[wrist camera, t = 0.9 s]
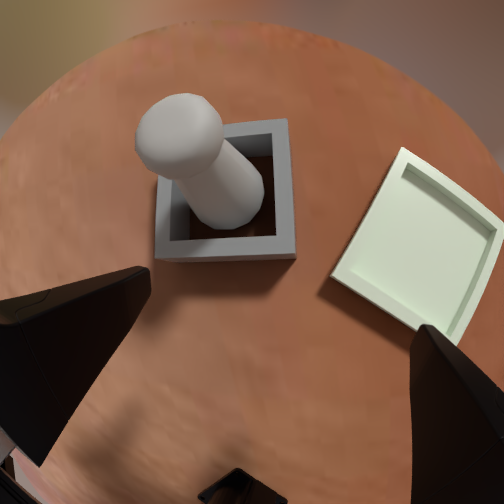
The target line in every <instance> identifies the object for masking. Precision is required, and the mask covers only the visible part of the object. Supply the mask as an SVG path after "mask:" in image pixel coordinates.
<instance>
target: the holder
mask: <svg viewBox="0 0 504 504" xmlns="http://www.w3.org/2000/svg"><path fill="white" fill-rule="evenodd" d="M222 126H223V131H224V139H225V140H227V141H228V142H229V143H230V144H231V145H232V146H233V147H234V148H235V149H236V150H237V151H239V152H240V153H241V154H242V155H243V156H244V157H245V158H249V157H261V156H273V165H274V187H275V212H276V236H258V237H238V238H218V239H199V240H190V206H189V204H188V202H187V201H186V199H185V197H184V196H183V194H182V192H181V191H180V189H179V187H178V186H177V184H176V182H175V181H174V179H173V180H168V179H166V178H164V177H162V176H160V175H158V188H157V204H156V225H155V259H160V260H165V261H170V262H175V263H186V262H217V261H247V260H275V259H297V251H296V227H295V206H294V189H293V173H292V158H291V145H290V136H289V128H288V121H287V119H273V120H261V121H251V122H242V123H233V124H225V125H222Z"/></svg>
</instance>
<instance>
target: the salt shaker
mask: <svg viewBox="0 0 504 504" xmlns="http://www.w3.org/2000/svg"><path fill="white" fill-rule="evenodd" d="M135 151H136V152H137V154H138V155H139V157H140V159H141V160H142V162H143V163H144V164H145V166H146V167H147V169H149V170H151V171H152V172H154V173H156V174H158V175H160V176H162V177H164V178H166V179H168V180H173V179H174V181H175V182H176V184H177V186H178V187H179V189H180V191H181V192H182V194H183V196H184V197H185V199H186V201H187V202H188V204H189V206H190V207H191V209H192V210H193V212H194V213H195V214H196V216H197V217H198V219H199V220H200V221H201V222H203V223H204V224H206V225H208V226H210V227H212V228H213V229H235V228H237V227H240V226H242V225H244V224H247V223H249V222H250V221H251V219H252V218H253V217H254V216H255V215H256V213H257V212H258V211H259V210H260V208H261V204H262V201H263V197H264V194H265V191H264V186H263V182H262V177H261V175H260V173H259V172H258V171H257V170H256V168H255V167H254V166H253V165H252V164H251V163H250V162H249V161H248V160H247V159H246V158H245V157H244V156H243V155H242V154H241V153H240V152H239V151H237V150H236V149H235V148H234V147H233V146H232V145H231V144H230V143H229V142H228V141H227V140H225V139H224V131H223V126H222V121H221V118H220V116H219V114H218V113H217V112H216V110H215V109H214V108H213V107H212V106H211V105H210V104H209V103H208V102H207V101H206V100H205V99H204V98H203V97H201V96H198V95H194V94H190V93H183V94H176V95H170V96H168V97H166V98H164V99H163V100H161V101H159V102H157V103H156V104H154V105H153V106H152V107H151V108H150V109H149V110H148V111H147V112H146V113H145V115H144V116H143V117H142V118H141V121H140V123H139V125H138V128H137V130H136V133H135Z"/></svg>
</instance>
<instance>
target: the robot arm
mask: <svg viewBox="0 0 504 504" xmlns="http://www.w3.org/2000/svg"><path fill="white" fill-rule="evenodd" d="M150 294H151V279H150V271H149V269H148V268H146V267H142V266H134V267H130V268H127V269H123V270H119V271H115V272H111V273H107V274H104V275H100V276H96V277H92V278H89V279H85V280H81V281H77V282H74V283H70V284H66V285H62V286H59V287H55V288H52V289H47V290H44V291H40V292H36V293H32V294H28V295H24V296H19V297H15V298H10V299H5V300H0V504H42V503H41V502H39V501H38V500H37V499H36V498H34V497H33V496H32V495H31V494H30V493H29V492H27V491H26V490H25V489H24V488H23V487H22V486H20V485H19V484H18V483H17V482H16V480H15V473H14V465H13V458H12V457H11V456H10V453H11V452H12V451H13V450H14V449H15V448H17V449H18V450H19V451H20V452H21V453H22V454H23V455H24V456H26V457H27V458H28V459H29V460H30V461H31V462H33V463H34V464H35V465H36V466H38V467H40V466H41V465H42V464H43V462H44V460H45V459H46V457H47V455H48V454H49V452H50V450H51V449H52V447H53V445H54V444H55V442H56V440H57V439H58V437H59V436H60V434H61V432H62V431H63V429H64V428H65V426H66V424H67V423H68V420H69V419H70V418H71V416H72V415H73V413H74V412H75V410H76V408H77V407H78V405H79V404H80V402H81V401H82V399H83V398H84V396H85V395H86V393H87V392H88V390H89V389H90V387H91V386H92V384H93V383H94V381H95V380H96V378H97V377H98V375H99V374H100V372H101V371H102V369H103V368H104V367H105V365H106V364H107V362H108V361H109V359H110V358H111V356H112V355H113V354H114V352H115V351H116V349H117V348H118V346H119V345H120V344H121V342H122V341H123V339H124V338H125V337H126V335H127V334H128V332H129V331H130V329H131V328H132V326H133V324H134V323H135V321H136V319H137V318H138V316H139V314H140V312H141V310H142V309H143V307H144V305H145V304H146V302H147V300H148V298H149V297H150ZM410 404H411V421H412V490H411V504H504V392H503V391H502V390H501V389H500V388H499V387H497V385H496V384H495V383H494V382H493V381H492V380H491V379H490V378H489V377H488V376H487V375H486V374H485V373H484V372H483V371H482V370H481V369H480V368H479V367H478V366H477V365H475V364H474V363H473V362H472V361H471V360H470V359H469V358H468V357H467V356H466V355H465V354H464V353H463V352H462V351H461V350H460V349H459V348H458V347H456V346H455V345H454V344H453V343H452V342H451V341H450V340H449V339H448V338H447V337H446V336H444V335H443V334H442V333H441V332H440V331H439V330H438V329H437V328H436V327H434V326H433V325H430V324H421V325H420V326H419V328H418V330H417V332H416V335H415V337H414V339H413V341H412V343H411V346H410ZM236 472H238V473H240V474H237V473H236ZM203 497H204V498H203ZM198 499H199V500H201V501H202V502H203V503H205V504H287V503H288V500H287V499H286V498H284V497H282V496H281V495H279V494H277V493H276V492H275V491H274V490H272V489H270V488H269V487H267V486H266V485H264V484H263V483H261V482H260V481H258V480H256V479H255V478H253V477H252V476H250V475H249V474H247V473H246V472H245V471H243V470H242V469H239V468H236V469H234V470H233V471H231V472H230V473H228V474H227V475H226V476H224V477H223V478H222V479H220V480H219V481H217V482H216V483H214V484H213V485H212V486H210V487H209V488H207V489H206V490H204V491H203V492H201V493H200V494H199V495H198ZM281 502H284V503H281Z"/></svg>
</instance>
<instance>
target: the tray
mask: <svg viewBox="0 0 504 504" xmlns="http://www.w3.org/2000/svg"><path fill="white" fill-rule="evenodd" d="M503 239H504V223H503V222H502V221H501V220H500V219H499V218H498V217H497V216H495V215H494V214H493V213H492V212H491V211H490V210H488V209H487V208H486V207H485V206H484V205H483V204H481V203H480V202H479V201H478V200H476V199H475V198H474V197H473V196H471V195H470V194H469V193H468V192H466V191H465V190H464V189H463V188H461V187H460V186H459V185H457V184H456V183H455V182H453V181H452V180H451V179H449V178H448V177H446V176H445V175H444V174H442V173H441V172H439V171H438V170H437V169H435V168H434V167H432V166H431V165H429V164H428V163H426V162H425V161H423V160H422V159H420V158H419V157H417V156H416V155H414V154H413V153H411V152H410V151H408V150H406V149H405V148H403V147H401V149H400V150H399V152H398V153H397V155H396V157H395V159H394V161H393V163H392V165H391V167H390V169H389V171H388V173H387V175H386V176H385V178H384V180H383V182H382V184H381V186H380V188H379V190H378V192H377V194H376V196H375V197H374V199H373V201H372V203H371V205H370V207H369V209H368V210H367V212H366V214H365V216H364V218H363V219H362V221H361V223H360V225H359V227H358V228H357V230H356V232H355V234H354V235H353V237H352V239H351V241H350V242H349V244H348V246H347V248H346V249H345V251H344V253H343V254H342V256H341V258H340V259H339V261H338V263H337V264H336V266H335V268H334V269H333V271H332V273H331V274H330V277H332V278H333V279H335V280H336V281H338V282H339V283H341V284H343V285H344V286H346V287H347V288H349V289H350V290H352V291H354V292H355V293H357V294H358V295H360V296H361V297H363V298H365V299H366V300H368V301H369V302H371V303H372V304H374V305H375V306H377V307H379V308H380V309H382V310H383V311H385V312H386V313H388V314H389V315H391V316H392V317H394V318H396V319H397V320H399V321H400V322H402V323H403V324H405V325H406V326H408V327H409V328H411V329H412V330H414V331H415V332H417V330H418V328H419V326H420V325H421V324H430V325H433V326H434V327H436V328H437V329H438V330H439V331H440V332H441V333H442V334H443V335H444V336H446V337H447V338H448V339H449V340H450V341H451V342H452V343H453V344H454V345H455V346H457V344H458V342H459V341H460V339H461V337H462V335H463V333H464V331H465V329H466V327H467V325H468V323H469V322H470V320H471V318H472V315H473V313H474V311H475V309H476V307H477V305H478V303H479V301H480V298H481V296H482V294H483V292H484V289H485V287H486V285H487V282H488V280H489V277H490V275H491V272H492V270H493V267H494V265H495V262H496V259H497V256H498V254H499V251H500V248H501V245H502V242H503Z"/></svg>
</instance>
